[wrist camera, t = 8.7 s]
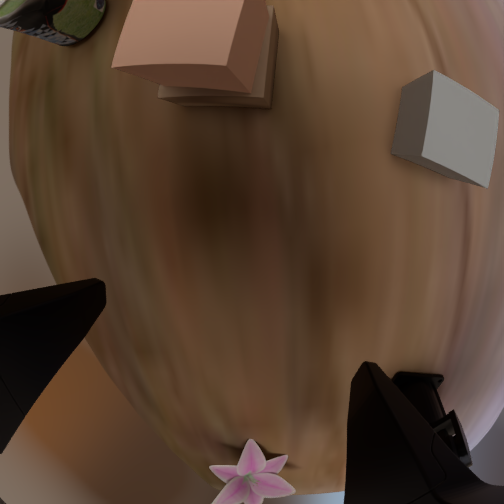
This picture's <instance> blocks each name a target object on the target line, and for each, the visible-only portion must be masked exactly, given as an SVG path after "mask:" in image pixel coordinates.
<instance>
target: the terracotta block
mask: <svg viewBox="0 0 504 504" xmlns="http://www.w3.org/2000/svg"><path fill="white" fill-rule="evenodd" d="M268 20H269V13H268V9H267V5H266V2H265V0H133V3H132V5H131V8H130V10H129V13H128V15H127V18H126V21H125V24H124V27H123V30H122V33H121V36H120V39H119V42H118V45H117V49H116V52H115V56H114V59H113V63H112V67H111V68H114V69H117V70H120V71H123V72H126V73H129V74H132V75H135V76H138V77H141V78H144V79H147V80H149V81H152V82H155V83H157V84H160V85H162V86H174V87H195V88H208V89H219V90H228V91H237V92H244V93H251V91H252V86H253V82H254V78H255V73H256V69H257V65H258V60H259V56H260V52H261V48H262V44H263V40H264V36H265V32H266V28H267V24H268Z"/></svg>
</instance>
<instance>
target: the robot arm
mask: <svg viewBox="0 0 504 504" xmlns="http://www.w3.org/2000/svg"><path fill="white" fill-rule="evenodd" d="M105 306H106V287H105V283H104V282H103V281H101V280H99V279H97V278H92V279H86V280H81V281H75V282H70V283H64V284H59V285H53V286H48V287H43V288H37V289H32V290H26V291H21V292H16V293H12V294H5V295H0V454H2V453H3V451H4V449H5V448H6V446H7V444H8V443H9V441H10V440H11V437H12V436H13V435H14V433H15V432H16V430H17V428H18V427H19V425H20V424H21V422H22V421H23V419H24V418H25V416H26V415H27V413H28V412H29V410H30V409H31V407H32V406H33V404H34V403H35V401H36V400H37V399H38V397H39V396H40V395H41V393H42V392H43V390H44V389H45V388H46V386H47V385H48V384H49V382H50V381H51V379H52V378H53V377H54V375H55V374H56V373H57V372H58V370H59V369H60V368H61V366H62V365H63V364H64V362H65V361H66V360H67V359H68V357H69V356H70V355H71V354H72V352H73V351H74V350H75V349H76V347H77V346H78V345H79V344H80V342H81V341H82V340H83V339H84V337H85V336H86V334H87V333H88V332H89V330H90V328H91V327H92V325H93V324H94V322H95V321H96V319H97V318H98V317H99V315H100V314H101V312H102V311H103V309H104V308H105ZM443 381H444V377H443V375H432V374H418V373H407V372H399V373H397V374H396V375H395V376H394V378H393V379H392V381H391V380H390V379H389V377H388V376H387V375H386V374H385V373H384V372H383V371H382V369H381V368H380V367H379V366H378V365H377V364H376V363H374V362H368V361H365V362H363V363H362V364H361V366H360V368H359V369H358V371H357V372H356V374H355V376H354V377H353V379H352V382H351V389H350V401H349V411H348V420H347V461H346V482H345V496H344V504H504V486H496V485H491V484H488V483H485V482H483V481H482V480H480V479H479V478H478V477H477V476H476V475H475V474H474V473H473V472H472V471H471V470H470V469H469V468H468V467H470V466H472V460H471V455H470V451H469V447H468V443H467V439H466V436H465V434H464V431H463V428H462V425H461V423H460V421H459V419H458V417H457V415H456V413H455V411H454V409H453V410H452V411H450V412H449V414H447V415H446V413H445V410H444V407H443V405H442V402H441V399H440V397H439V394H438V392H437V388H438V387H439V386H440V385H441V383H442V382H443ZM454 434H455V436H452V435H454ZM0 504H6V503H5V502H4V501H3V500H2V499H1V498H0Z"/></svg>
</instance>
